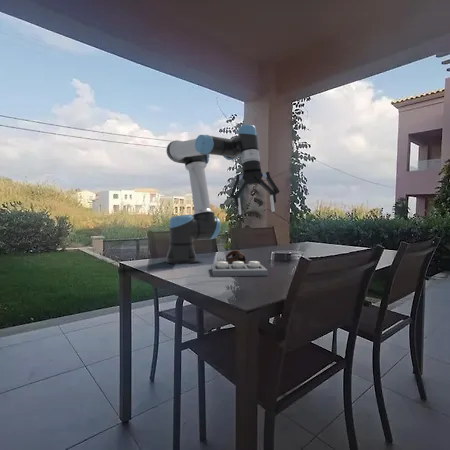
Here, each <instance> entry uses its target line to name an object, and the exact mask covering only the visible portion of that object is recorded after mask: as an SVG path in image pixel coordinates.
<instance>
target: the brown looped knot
mask: <svg viewBox="0 0 450 450" xmlns="http://www.w3.org/2000/svg"><path fill="white" fill-rule="evenodd" d="M234 261H242V262H244V264H248V263H247V259H246V256H245V255H244V253H243V252H240V250H238V249H234V250H231V251H229V252H228V253H227V254H226V255H225V262H228V264H233V262H234Z"/></svg>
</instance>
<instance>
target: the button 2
mask: <svg viewBox="0 0 450 450" xmlns="http://www.w3.org/2000/svg"><path fill="white" fill-rule="evenodd" d="M248 264H249V268H252V269H258V268H259V267H260V264H261V262H260V261H257V260H251V261H248Z"/></svg>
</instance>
